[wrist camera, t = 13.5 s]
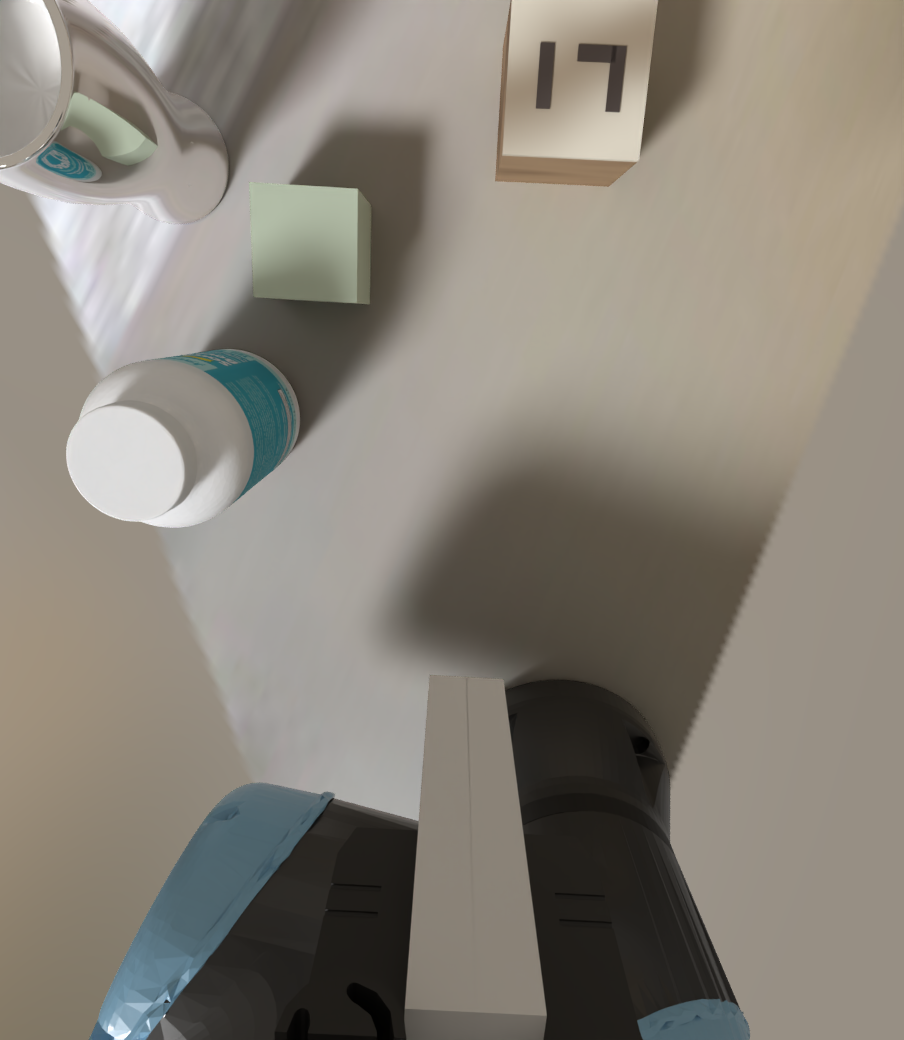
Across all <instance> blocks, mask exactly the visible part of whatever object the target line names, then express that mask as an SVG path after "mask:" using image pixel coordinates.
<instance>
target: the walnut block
mask: <svg viewBox="0 0 904 1040" xmlns="http://www.w3.org/2000/svg"><path fill="white" fill-rule="evenodd" d="M657 5H658V0H511V3H510V9H509V15H508V21H507V27H506V33H505V39H504V45H503V58H502V75H501V92H500V109H499V126H498V143H497V160H496V178H495V181H505V182H526V183H547V184H567V185H588V186H610V185H611V184H612V183H613V182H615V181H616V180H617V179H618V178H619V177H620V176H622V175H623V174H624V173H625V172H626V171H627V170H629V169H630V168H631V167H632V166H633V165H634V164H636V163H637V162H638V161H639V157H640V148H641V140H642V131H643V123H644V114H645V106H646V98H647V89H648V81H649V72H650V64H651V55H652V47H653V39H654V30H655V22H656V13H657Z"/></svg>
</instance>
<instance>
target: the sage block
mask: <svg viewBox="0 0 904 1040" xmlns="http://www.w3.org/2000/svg"><path fill="white" fill-rule="evenodd" d="M249 194H250V221H251V247H252V274H253V297H258V298H271V299H285V300H302V301H319V302H336V303H353V304H370V271H371V205H370V203H369V202H368V201H367V200H366V198H365V197H364V196H363V195H362V193H361V192H360V191H359V190H358V189H355V188H338V187H321V186H305V185H288V184H271V183H255V182H249Z"/></svg>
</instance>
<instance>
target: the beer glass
mask: <svg viewBox="0 0 904 1040" xmlns="http://www.w3.org/2000/svg"><path fill="white" fill-rule="evenodd" d="M228 176H229V159H228V153H227V149H226V145H225V142H224V140H223V138H222V135H221V133H220V131H219V130H218V128H217V126H216V125H215V123H214V122H213V120H212V119H211V118H210V116H209V115H208V114H207V113H206V112H205V111H204V110H203V109H202V108H200V107H199V106H198V105H196V104H195V103H193V102H192V101H190V100H189V99H187V98H185V97H182V96H180V95H177V94H175V93H171V92H168V91H166V90H165V88H164V87H163V85H162V84H161V82H160V81H159V79H158V78H157V76H156V75H155V73H154V72H153V70H152V69H151V68H150V66H149V65H148V63H147V62H146V60H145V59H144V58H143V56H142V55H141V54H140V53H139V52H138V50H137V49H136V48H135V47H134V46H133V44H132V43H131V42H130V41H129V39H128V38H127V37H126V36H125V35H124V34H123V32H122V31H121V30H120V29H119V28H118V27H117V26H116V25H115V24H114V23H112V22H111V21H110V20H109V19H108V18H107V17H106V16H105V15H104V14H103V13H102V12H101V11H100V10H98V9H97V8H96V7H95V6H94V5H93V4H92V3H91V2H89V1H88V0H0V183H2V184H4V185H7V186H9V187H12V188H15V189H18V190H21V191H24V192H27V193H30V194H33V195H36V196H40V197H44V198H48V199H53V200H57V201H61V202H66V203H72V204H86V205H118V204H132V205H133V206H134V207H135V208H137V209H138V210H139V211H141V212H142V213H144V214H145V215H147V216H149V217H151V218H153V219H155V220H158V221H161V222H164V223H169V224H187V223H191V222H195V221H197V220H199V219H201V218H203V217H205V216H206V215H208V214H209V213H210V212H211V211H212V210H213V209H214V208H215V207H216V206H217V205H218V203H219V202H220V200H221V198H222V197H223V194H224V192H225V189H226V186H227V182H228Z"/></svg>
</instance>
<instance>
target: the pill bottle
mask: <svg viewBox="0 0 904 1040" xmlns="http://www.w3.org/2000/svg"><path fill="white" fill-rule="evenodd" d="M299 427H300V411H299V406H298V401H297V398H296V395H295V393H294V391H293V389H292V387H291V385H290V383H289V382H288V380H287V379H286V378H285V376H284V375H283V374H282V373H281V372H280V371H279V370H278V369H277V368H276V367H275V366H274V365H272V364H271V363H270V362H268V361H267V360H265V359H264V358H262V357H260V356H258V355H255V354H253V353H250V352H247V351H243V350H237V349H219V350H212V351H206V352H200V353H194V354H187V355H180V356H174V357H167V358H160V359H152V360H146V361H141V362H136V363H132V364H129V365H126V366H124V367H121V368H119V369H117V370H116V371H114V372H112V373H111V374H109V375H108V376H107V377H105V378H104V379H103V380H102V381H101V382H99V383H98V384H97V385H96V386H95V388H94V389H93V390H92V392H91V393H90V395H89V396H88V398H87V400H86V402H85V404H84V406H83V408H82V411H81V414H80V418H79V421H78V422H77V423H76V425H75V426H74V428H73V429H72V431H71V433H70V436H69V439H68V442H67V448H66V458H67V465H68V469H69V473H70V476H71V478H72V480H73V482H74V484H75V486H76V488H77V489H78V491H79V492H80V493H81V495H82V496H83V497H84V498H85V499H86V500H87V501H88V502H89V503H90V504H91V505H93V506H94V507H95V508H97V509H98V510H100V511H101V512H103V513H105V514H107V515H109V516H111V517H114V518H117V519H120V520H125V521H141V522H144V523H147V524H150V525H154V526H160V527H171V528H177V527H187V526H192V525H197V524H200V523H203V522H205V521H207V520H209V519H212V518H213V517H215V516H217V515H218V514H220V513H221V512H223V511H224V510H225V509H227V508H228V507H229V506H231V505H232V504H233V503H234V502H235V501H237V500H238V499H239V498H240V497H241V496H242V495H244V494H245V493H246V492H247V491H248V490H250V489H251V488H252V487H253V486H254V485H256V484H257V483H258V482H259V481H260V480H262V479H263V478H264V477H265V476H267V475H268V474H269V473H270V472H272V471H273V470H274V469H275V468H276V467H277V466H279V465H280V464H281V463H282V462H283V461H284V460H285V459H286V458H287V456H288V455H289V454H290V452H291V450H292V449H293V447H294V445H295V442H296V440H297V437H298V433H299Z"/></svg>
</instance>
